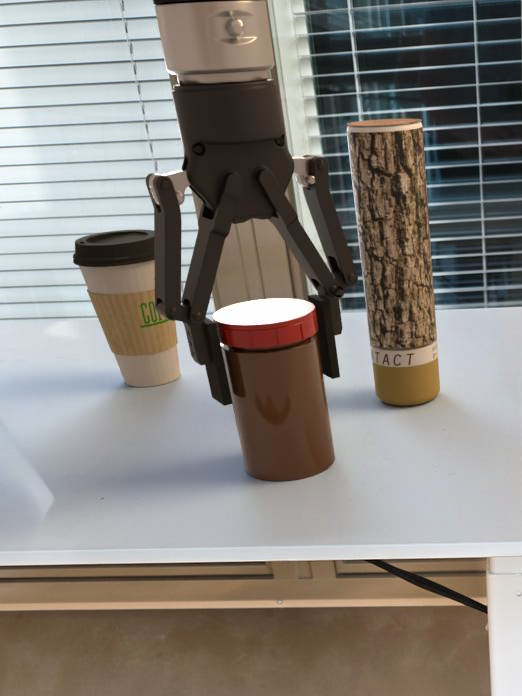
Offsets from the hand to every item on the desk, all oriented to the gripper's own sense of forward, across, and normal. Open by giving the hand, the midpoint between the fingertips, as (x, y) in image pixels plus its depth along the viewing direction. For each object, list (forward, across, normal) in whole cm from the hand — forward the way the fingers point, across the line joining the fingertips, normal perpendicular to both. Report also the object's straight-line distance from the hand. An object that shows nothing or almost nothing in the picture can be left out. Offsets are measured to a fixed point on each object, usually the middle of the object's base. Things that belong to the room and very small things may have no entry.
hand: (277, 387), depth 76 cm
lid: (-6, 0, 0) cm, 6 cm away
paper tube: (+7, +17, +8) cm, 20 cm away
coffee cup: (+7, -2, +33) cm, 34 cm away
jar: (+7, 0, 0) cm, 7 cm away
